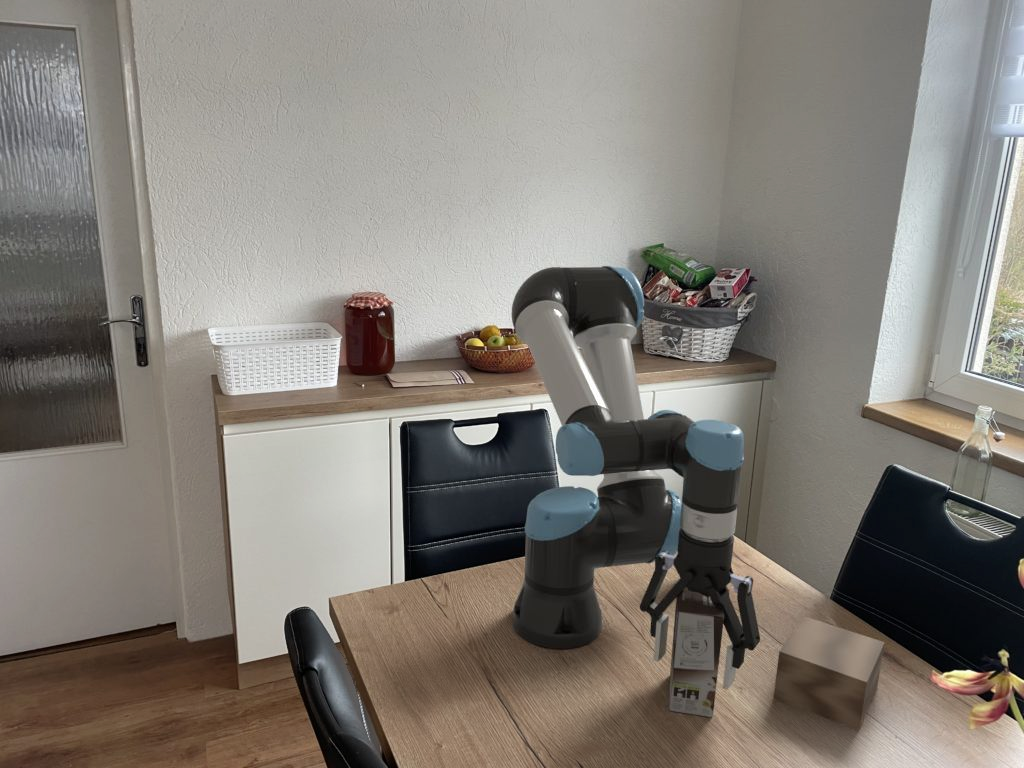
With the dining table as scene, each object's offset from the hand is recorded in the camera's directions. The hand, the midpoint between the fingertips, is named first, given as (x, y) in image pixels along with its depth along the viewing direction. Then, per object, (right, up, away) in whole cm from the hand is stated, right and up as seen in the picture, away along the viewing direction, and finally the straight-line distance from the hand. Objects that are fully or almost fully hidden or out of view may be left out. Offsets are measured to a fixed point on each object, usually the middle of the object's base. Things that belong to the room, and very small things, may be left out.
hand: (693, 670), depth 115 cm
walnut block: (+21, -4, +3) cm, 21 cm away
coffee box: (0, -4, +1) cm, 5 cm away
